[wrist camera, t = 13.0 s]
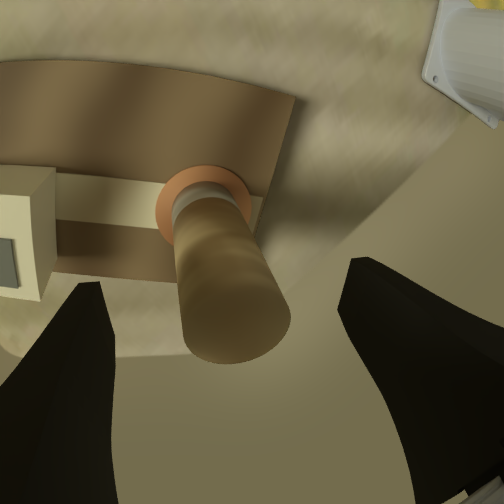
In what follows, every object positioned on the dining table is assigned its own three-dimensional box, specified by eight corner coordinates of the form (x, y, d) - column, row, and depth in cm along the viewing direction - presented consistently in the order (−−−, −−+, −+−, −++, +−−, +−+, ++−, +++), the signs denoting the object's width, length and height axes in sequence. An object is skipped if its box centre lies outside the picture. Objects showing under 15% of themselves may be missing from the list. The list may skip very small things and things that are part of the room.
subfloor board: (285, 93, 15) (297, 97, 14) (234, 272, 20) (240, 289, 19) (-13, 63, 10) (-28, 65, 8) (-11, 249, 15) (-21, 264, 14)
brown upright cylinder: (236, 178, 15) (296, 278, 9) (236, 236, 17) (285, 354, 11) (168, 184, 15) (176, 294, 8) (174, 243, 16) (189, 370, 10)
